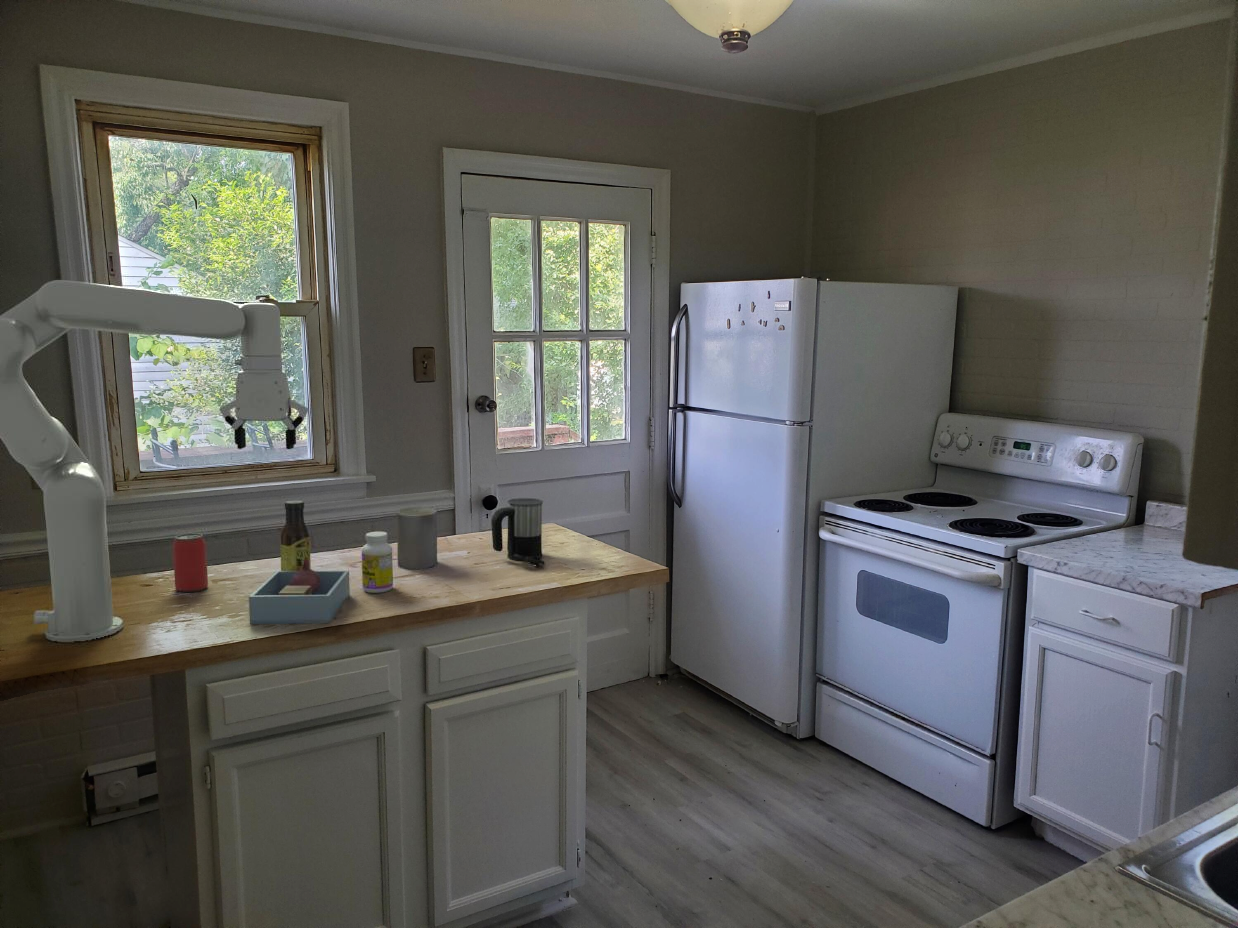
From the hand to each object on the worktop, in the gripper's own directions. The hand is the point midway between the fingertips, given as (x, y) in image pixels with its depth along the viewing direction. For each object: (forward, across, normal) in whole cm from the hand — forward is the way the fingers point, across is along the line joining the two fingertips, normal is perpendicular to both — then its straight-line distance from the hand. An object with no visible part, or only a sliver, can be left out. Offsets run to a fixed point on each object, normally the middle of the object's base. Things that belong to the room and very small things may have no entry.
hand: (266, 448), depth 180 cm
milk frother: (+34, +53, +34) cm, 72 cm away
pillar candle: (+34, +26, +31) cm, 53 cm away
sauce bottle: (+34, +2, +11) cm, 35 cm away
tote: (+33, +7, -4) cm, 34 cm away
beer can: (+34, -21, +12) cm, 41 cm away
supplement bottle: (+34, +20, +10) cm, 40 cm away
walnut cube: (+33, +7, -8) cm, 34 cm away
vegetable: (+33, +7, +1) cm, 34 cm away
